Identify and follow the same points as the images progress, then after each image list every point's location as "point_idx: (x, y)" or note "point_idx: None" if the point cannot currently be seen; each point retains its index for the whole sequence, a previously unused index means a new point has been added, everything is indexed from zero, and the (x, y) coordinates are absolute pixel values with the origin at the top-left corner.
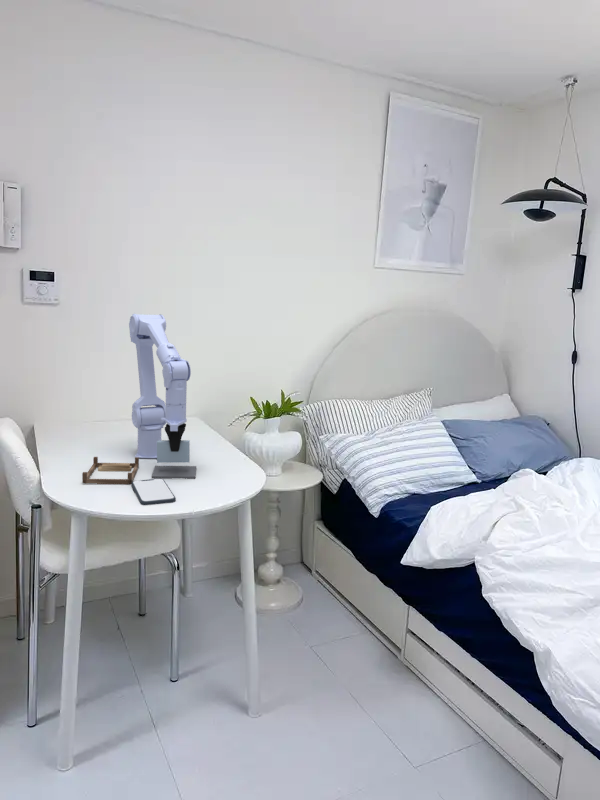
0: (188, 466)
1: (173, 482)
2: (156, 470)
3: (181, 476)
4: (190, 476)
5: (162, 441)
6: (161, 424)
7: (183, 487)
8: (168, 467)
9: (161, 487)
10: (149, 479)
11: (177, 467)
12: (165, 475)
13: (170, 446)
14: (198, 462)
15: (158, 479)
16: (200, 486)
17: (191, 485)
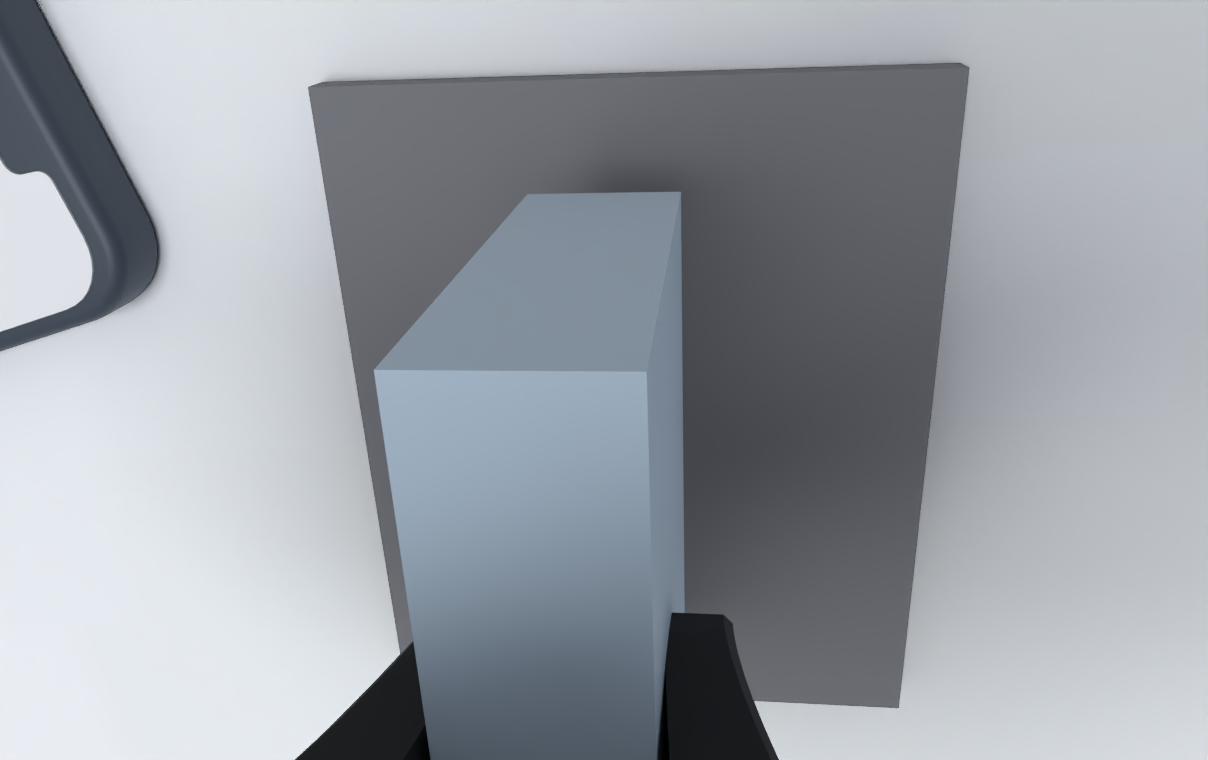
0: (884, 612)
1: (213, 419)
2: (649, 134)
3: (381, 528)
4: (399, 632)
5: (499, 545)
6: None
7: (60, 539)
8: (837, 325)
9: None
10: (22, 94)
11: (836, 463)
12: (389, 310)
13: (376, 683)
14: (1203, 718)
15: (59, 241)
16: (150, 704)
17: (156, 620)
